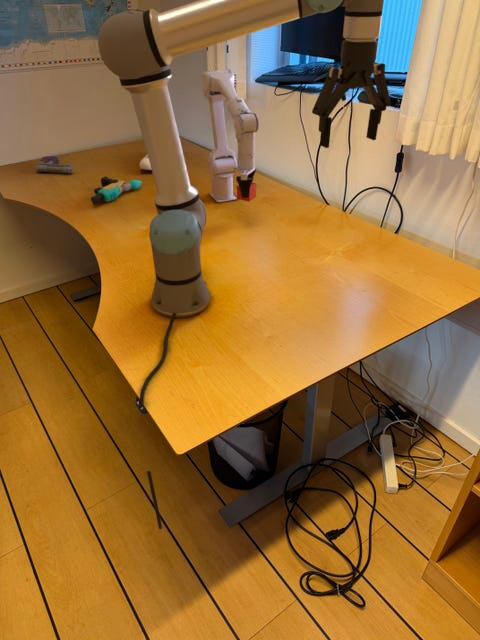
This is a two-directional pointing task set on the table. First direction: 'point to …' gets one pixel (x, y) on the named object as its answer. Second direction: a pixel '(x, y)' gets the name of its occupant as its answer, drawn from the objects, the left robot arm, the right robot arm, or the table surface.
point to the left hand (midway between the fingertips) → (348, 142)
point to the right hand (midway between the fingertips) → (246, 193)
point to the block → (251, 194)
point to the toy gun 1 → (53, 165)
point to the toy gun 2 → (113, 189)
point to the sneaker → (145, 163)
